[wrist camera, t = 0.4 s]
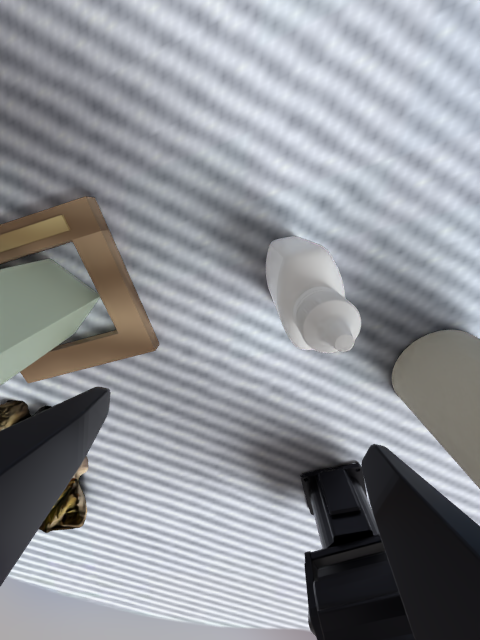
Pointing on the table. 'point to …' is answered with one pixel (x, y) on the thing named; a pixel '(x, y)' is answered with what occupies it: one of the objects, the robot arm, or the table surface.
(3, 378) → the green yellow rectangular block
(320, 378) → the table surface
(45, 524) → the food
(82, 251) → the slot plate
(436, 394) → the travel mug
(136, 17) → the table surface
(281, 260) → the eye dropper bottle
